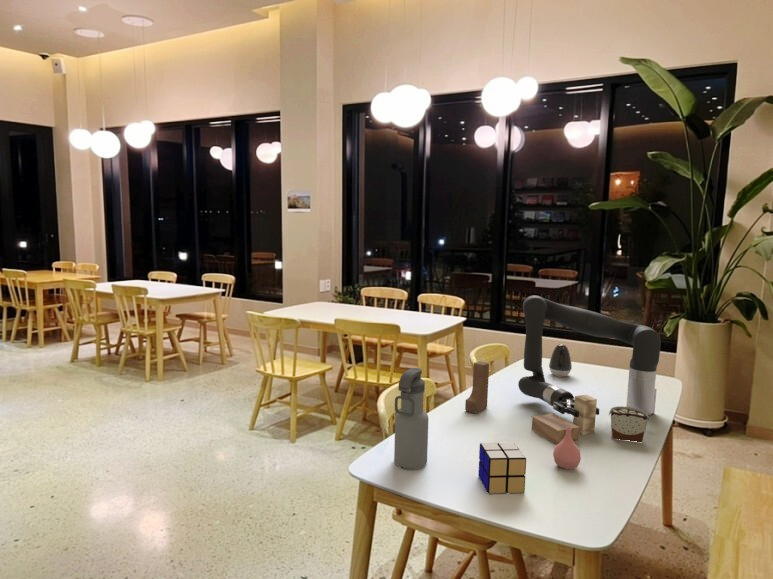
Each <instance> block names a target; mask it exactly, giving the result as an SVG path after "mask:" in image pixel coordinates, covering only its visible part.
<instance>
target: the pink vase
mask: <svg viewBox="0 0 773 579" xmlns="http://www.w3.org/2000/svg"><path fill="white" fill-rule="evenodd" d="M552 456H553V460H554V463H555V465H557V466H558V467H561V468H562V469H565V470H570V469H575V468H578V466H579V465H580V462H581V459H582V456H581V450H580V449H579V448H578V446H577V445H576V444H575V441H574V442H573V440H572V437H571V428H569V427H567V428H566V435H565V437H564V438H563V440H562V441H561V442H560V443H559V444H555V446H554V449H553V453H552Z"/></svg>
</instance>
